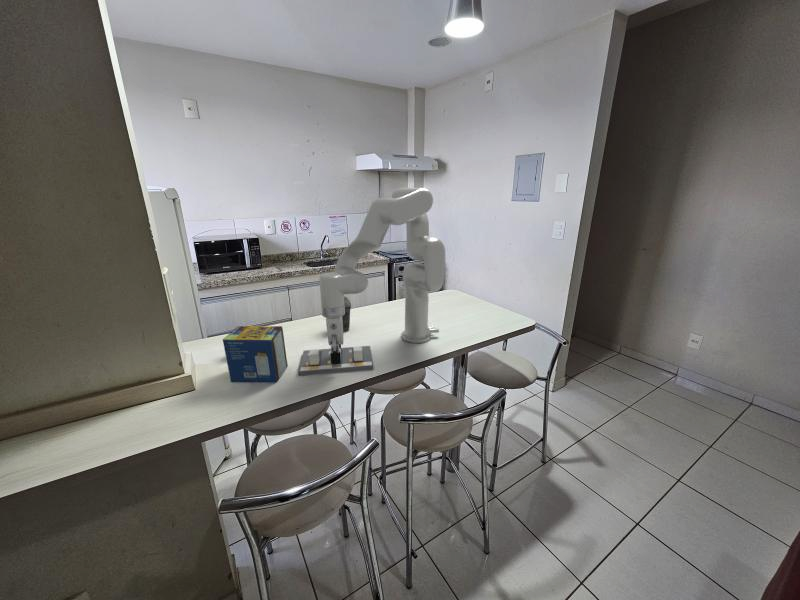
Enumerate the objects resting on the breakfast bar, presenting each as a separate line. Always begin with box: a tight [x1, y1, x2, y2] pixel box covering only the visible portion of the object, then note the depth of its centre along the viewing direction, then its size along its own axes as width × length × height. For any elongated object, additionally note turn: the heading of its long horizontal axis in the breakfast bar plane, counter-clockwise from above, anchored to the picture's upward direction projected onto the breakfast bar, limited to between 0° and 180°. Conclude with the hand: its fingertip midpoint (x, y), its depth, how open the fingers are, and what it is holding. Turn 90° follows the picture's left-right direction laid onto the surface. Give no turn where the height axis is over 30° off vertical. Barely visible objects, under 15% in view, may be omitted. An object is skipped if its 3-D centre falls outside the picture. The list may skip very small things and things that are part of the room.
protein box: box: [222, 325, 289, 384], centre depth 107 cm, size 10×15×16 cm
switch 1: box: [309, 349, 320, 365], centre depth 113 cm, size 3×3×4 cm
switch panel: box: [298, 345, 374, 376], centre depth 117 cm, size 25×15×2 cm, turn 99°
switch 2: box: [352, 346, 363, 361], centre depth 115 cm, size 3×3×4 cm
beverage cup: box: [342, 295, 352, 333], centre depth 141 cm, size 7×7×20 cm
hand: (336, 355), depth 114 cm, fingers open, 9 cm apart
